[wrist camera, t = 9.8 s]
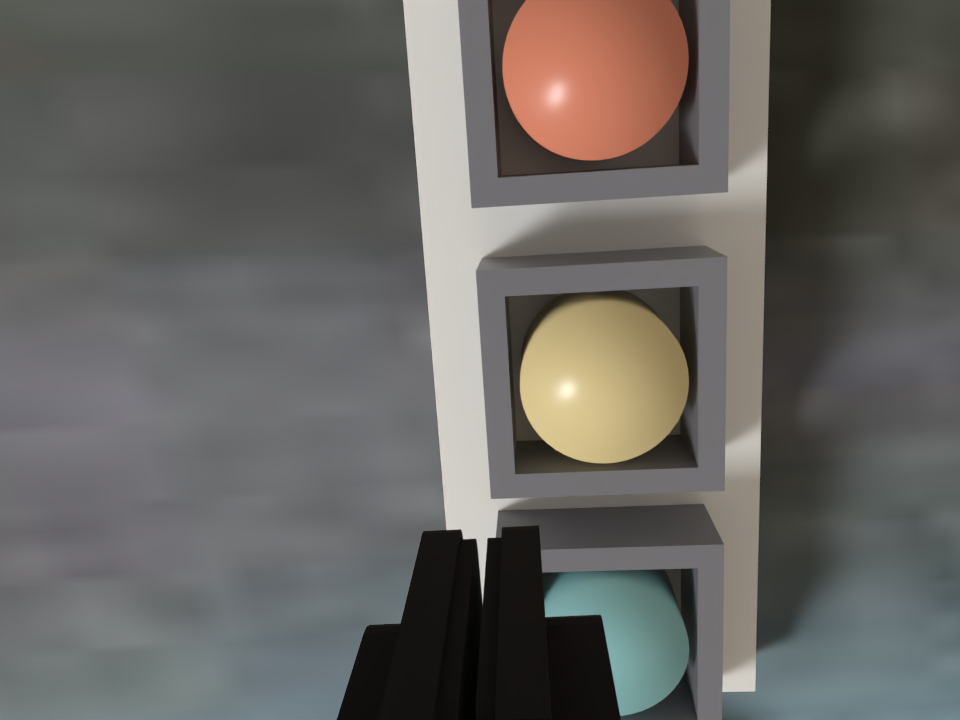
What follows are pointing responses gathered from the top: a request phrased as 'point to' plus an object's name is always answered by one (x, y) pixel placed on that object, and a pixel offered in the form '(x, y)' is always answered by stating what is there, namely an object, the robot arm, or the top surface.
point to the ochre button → (602, 376)
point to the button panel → (604, 267)
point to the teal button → (628, 628)
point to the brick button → (594, 73)
